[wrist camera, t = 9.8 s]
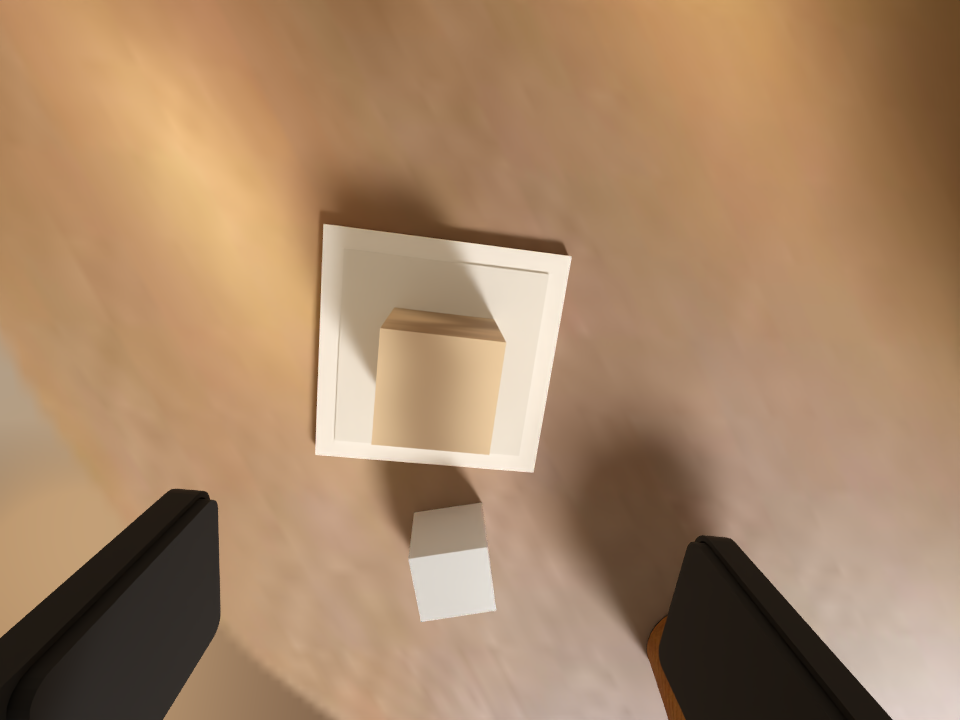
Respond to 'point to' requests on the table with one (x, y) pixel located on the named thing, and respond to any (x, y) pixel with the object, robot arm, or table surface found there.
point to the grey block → (451, 562)
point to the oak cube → (437, 381)
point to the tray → (444, 289)
